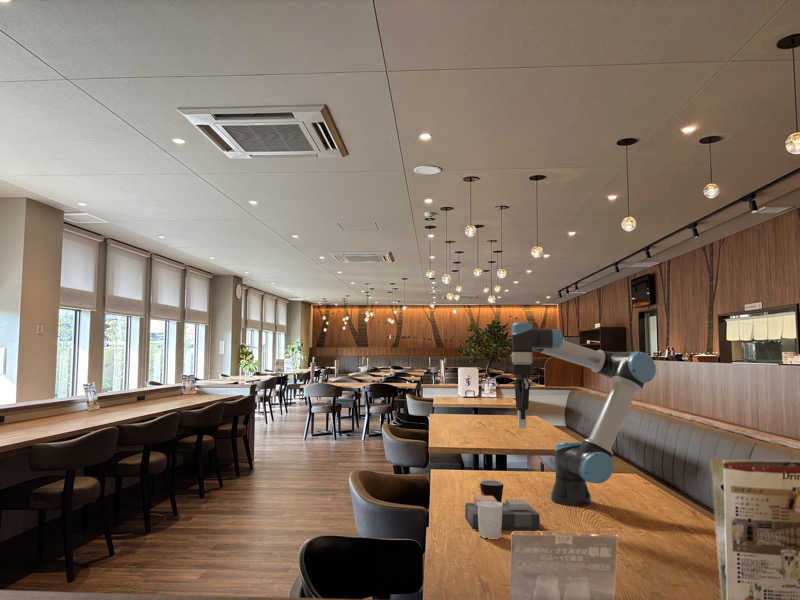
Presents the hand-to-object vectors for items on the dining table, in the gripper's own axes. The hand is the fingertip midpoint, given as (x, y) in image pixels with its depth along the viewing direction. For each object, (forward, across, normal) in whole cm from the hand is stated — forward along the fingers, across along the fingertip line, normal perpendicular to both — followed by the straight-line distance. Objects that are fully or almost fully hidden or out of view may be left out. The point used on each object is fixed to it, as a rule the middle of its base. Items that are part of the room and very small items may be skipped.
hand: (522, 428), depth 206 cm
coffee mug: (+31, -5, -10) cm, 33 cm away
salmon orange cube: (+28, +13, -16) cm, 35 cm away
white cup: (+31, +27, -18) cm, 44 cm away
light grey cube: (+29, +13, -6) cm, 32 cm away
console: (+30, +13, -11) cm, 35 cm away
